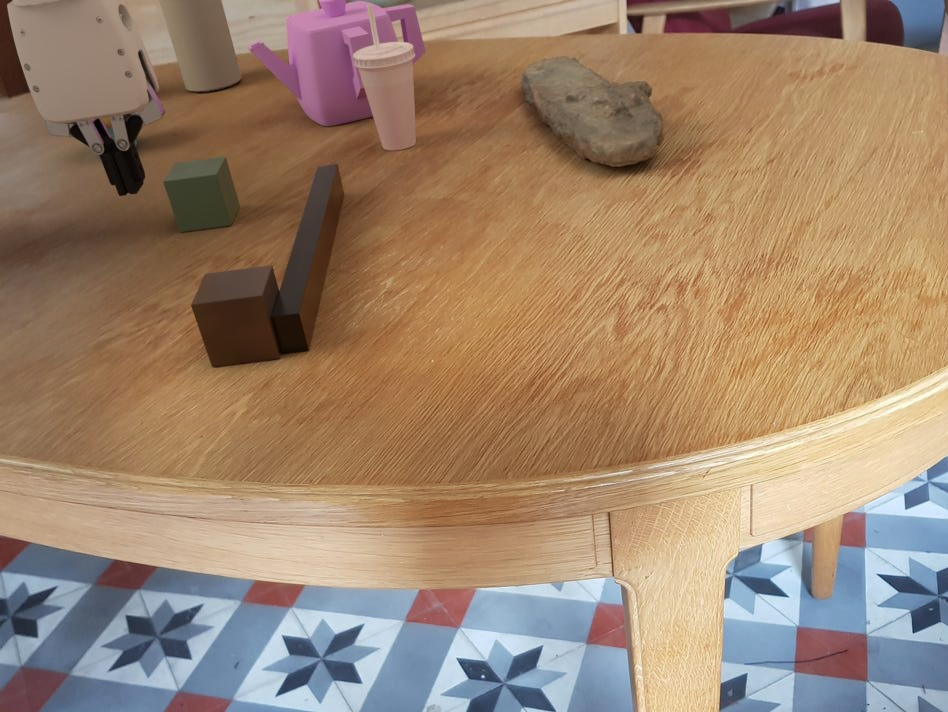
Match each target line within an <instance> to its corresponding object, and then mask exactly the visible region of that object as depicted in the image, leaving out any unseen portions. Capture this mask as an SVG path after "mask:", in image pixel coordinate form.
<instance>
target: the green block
mask: <svg viewBox="0 0 948 712" xmlns="http://www.w3.org/2000/svg"><path fill="white" fill-rule="evenodd" d="M231 173H232V172H231V170H230V167H229V163H228V159H227V157H226V156H220V157H219V156H218V157H211V158H204V159H196V160H191V161H190V160H188V161H183V162H175V163H174V165H173V166H172V168H171V169H170V171H169V172H168V173H167V175H166V177H165V178H164V180H163V182H162V183H163V187H164V189H165V192H166V193H167V197H168V200H169V203H170V206H171V209H172V212H173V215H174V218H175V221H176V225H177V228H178V231H179V233H187V232H193V231H194V232H196V231H203V230H209V229H218V228H224V227H230V226H231V227H232V225H233V222H234V221H235V219H236V216H237V214H238V211H239V209H240V207H241V205H240V202H239V198H238V194H237V191H236V188H235V183H234V181H233V176H232V174H231Z"/></svg>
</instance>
